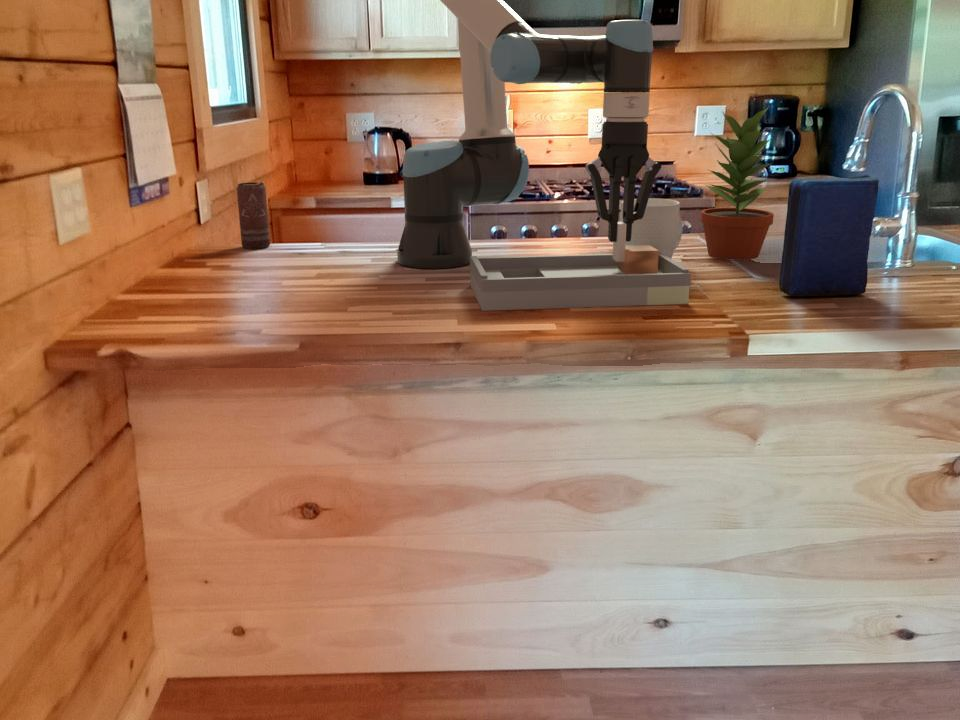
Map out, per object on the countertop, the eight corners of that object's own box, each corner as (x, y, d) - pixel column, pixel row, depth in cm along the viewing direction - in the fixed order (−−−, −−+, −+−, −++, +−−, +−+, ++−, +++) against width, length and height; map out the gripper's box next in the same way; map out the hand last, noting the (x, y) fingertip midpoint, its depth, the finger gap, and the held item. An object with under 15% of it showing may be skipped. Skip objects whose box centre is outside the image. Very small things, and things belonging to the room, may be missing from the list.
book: (854, 290, 147) (869, 173, 141) (870, 298, 142) (888, 176, 136) (774, 293, 145) (787, 174, 139) (788, 301, 140) (802, 178, 134)
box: (482, 310, 135) (481, 276, 134) (470, 285, 152) (470, 255, 151) (688, 303, 139) (690, 270, 137) (654, 279, 156) (656, 250, 154)
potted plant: (681, 251, 182) (691, 105, 172) (740, 246, 187) (753, 104, 177) (723, 264, 168) (737, 106, 159) (785, 259, 173) (802, 105, 164)
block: (626, 274, 147) (627, 251, 145) (617, 267, 152) (618, 245, 151) (657, 273, 147) (658, 250, 146) (647, 267, 152) (649, 244, 151)
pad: (646, 305, 138) (647, 287, 137) (617, 280, 155) (617, 264, 154) (688, 303, 139) (689, 285, 138) (654, 279, 156) (655, 263, 155)
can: (277, 246, 190) (271, 182, 186) (255, 250, 185) (250, 185, 181) (257, 243, 193) (252, 181, 189) (236, 247, 188) (230, 183, 184)
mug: (655, 259, 174) (659, 194, 170) (700, 267, 166) (705, 200, 162) (605, 269, 165) (608, 201, 161) (650, 278, 157) (654, 207, 153)
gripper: (592, 121, 137) (587, 265, 144) (670, 120, 138) (661, 263, 146) (581, 119, 144) (577, 256, 151) (656, 118, 146) (648, 255, 153)
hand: (618, 260), depth 149 cm, fingers closed
